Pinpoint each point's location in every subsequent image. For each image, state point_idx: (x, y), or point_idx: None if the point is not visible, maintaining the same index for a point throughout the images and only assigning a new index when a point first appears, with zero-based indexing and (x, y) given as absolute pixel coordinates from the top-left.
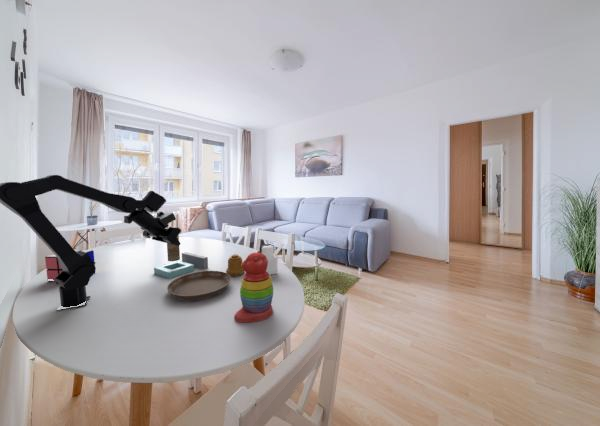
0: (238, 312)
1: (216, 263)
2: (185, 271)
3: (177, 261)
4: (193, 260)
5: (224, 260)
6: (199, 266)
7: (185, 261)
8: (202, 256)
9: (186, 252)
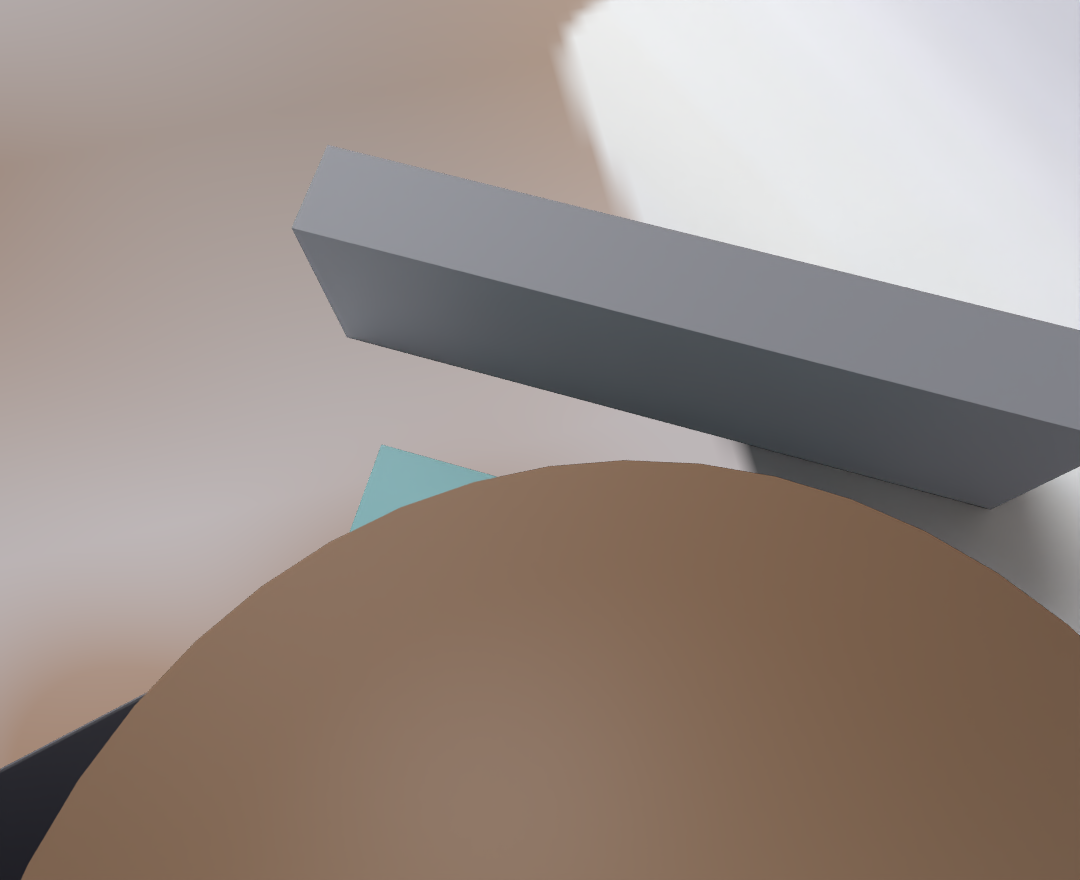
0: None
1: (956, 196)
2: None
3: (390, 499)
4: (706, 383)
5: (969, 42)
6: (865, 463)
7: (441, 341)
8: (972, 323)
9: (361, 154)
